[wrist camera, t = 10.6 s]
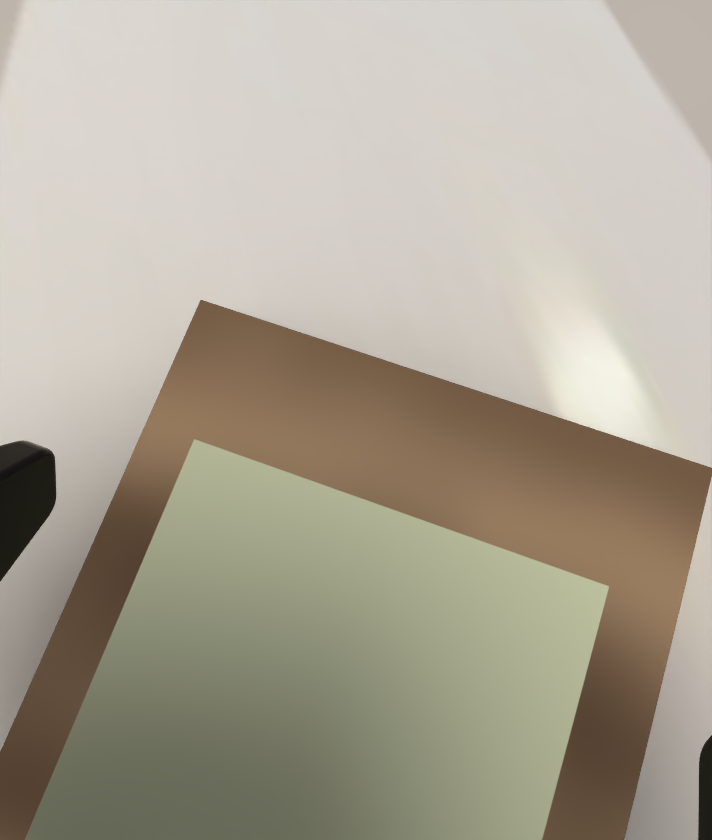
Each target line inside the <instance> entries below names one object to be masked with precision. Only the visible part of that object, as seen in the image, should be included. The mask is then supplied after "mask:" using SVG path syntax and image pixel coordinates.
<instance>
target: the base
mask: <svg viewBox="0 0 712 840" xmlns="http://www.w3.org/2000/svg"><path fill="white" fill-rule="evenodd" d="M194 439H195V440H198V441H201V442H204V443H207V444H209V445H212V446H215V447H218V448H221V449H224V450H226V451H229V452H232V453H235V454H238V455H240V456H243V457H246V458H249V459H252V460H255V461H257V462H260V463H263V464H266V465H269V466H271V467H274V468H277V469H280V470H283V471H286V472H288V473H291V474H294V475H297V476H300V477H302V478H305V479H308V480H311V481H314V482H316V483H319V484H322V485H325V486H328V487H331V488H333V489H336V490H339V491H342V492H345V493H347V494H350V495H353V496H356V497H359V498H362V499H364V500H367V501H370V502H373V503H376V504H378V505H381V506H384V507H387V508H390V509H393V510H395V511H398V512H401V513H404V514H407V515H409V516H412V517H415V518H418V519H421V520H424V521H426V522H429V523H432V524H435V525H438V526H440V527H443V528H446V529H449V530H452V531H455V532H457V533H460V534H463V535H466V536H469V537H471V538H474V539H477V540H480V541H483V542H485V543H488V544H491V545H494V546H497V547H500V548H502V549H505V550H508V551H511V552H514V553H516V554H519V555H522V556H525V557H528V558H531V559H533V560H536V561H539V562H542V563H545V564H547V565H550V566H553V567H556V568H559V569H562V570H564V571H567V572H570V573H573V574H576V575H578V576H581V577H584V578H587V579H590V580H593V581H595V582H598V583H601V584H604V585H607V586H609V589H608V593H607V597H606V600H605V604H604V608H603V612H602V616H601V619H600V623H599V627H598V631H597V634H596V638H595V642H594V646H593V649H592V653H591V657H590V661H589V665H588V668H587V672H586V676H585V680H584V683H583V687H582V691H581V695H580V699H579V702H578V706H577V710H576V714H575V717H574V721H573V725H572V729H571V732H570V736H569V740H568V744H567V748H566V751H565V755H564V759H563V763H562V766H561V770H560V774H559V778H558V781H557V785H556V789H555V793H554V797H553V800H552V804H551V808H550V812H549V815H548V819H547V823H546V827H545V830H544V834H543V838H542V840H624V838H625V834H626V830H627V825H628V821H629V817H630V813H631V809H632V805H633V801H634V796H635V792H636V788H637V784H638V780H639V776H640V771H641V767H642V763H643V759H644V755H645V751H646V747H647V742H648V738H649V734H650V730H651V726H652V722H653V717H654V713H655V709H656V705H657V701H658V697H659V693H660V688H661V684H662V680H663V676H664V672H665V668H666V664H667V659H668V655H669V651H670V647H671V643H672V639H673V634H674V630H675V626H676V622H677V618H678V614H679V610H680V605H681V601H682V597H683V593H684V589H685V585H686V580H687V576H688V572H689V568H690V564H691V560H692V556H693V551H694V547H695V543H696V539H697V535H698V531H699V526H700V522H701V518H702V514H703V510H704V506H705V502H706V497H707V493H708V489H709V485H710V481H711V477H712V468H710V467H707V466H704V465H701V464H698V463H695V462H692V461H689V460H686V459H683V458H680V457H677V456H674V455H671V454H668V453H665V452H662V451H659V450H656V449H653V448H650V447H647V446H643V445H640V444H637V443H634V442H631V441H628V440H625V439H622V438H619V437H616V436H613V435H610V434H607V433H604V432H601V431H598V430H595V429H592V428H589V427H586V426H583V425H580V424H577V423H574V422H571V421H568V420H565V419H561V418H558V417H555V416H552V415H549V414H546V413H543V412H540V411H537V410H534V409H531V408H528V407H525V406H522V405H519V404H516V403H513V402H510V401H507V400H504V399H501V398H498V397H495V396H492V395H489V394H486V393H482V392H479V391H476V390H473V389H470V388H467V387H464V386H461V385H458V384H455V383H452V382H449V381H446V380H443V379H440V378H437V377H434V376H431V375H428V374H425V373H422V372H419V371H416V370H413V369H410V368H407V367H403V366H400V365H397V364H394V363H391V362H388V361H385V360H382V359H379V358H376V357H373V356H370V355H367V354H364V353H361V352H358V351H355V350H352V349H349V348H346V347H343V346H340V345H337V344H334V343H331V342H328V341H325V340H321V339H318V338H315V337H312V336H309V335H306V334H303V333H300V332H297V331H294V330H291V329H288V328H285V327H282V326H279V325H276V324H273V323H270V322H267V321H264V320H261V319H258V318H255V317H252V316H249V315H246V314H242V313H239V312H236V311H233V310H230V309H227V308H224V307H221V306H218V305H215V304H212V303H209V302H206V301H203V300H200V303H199V305H198V307H197V309H196V312H195V314H194V316H193V318H192V321H191V323H190V325H189V327H188V330H187V332H186V334H185V336H184V339H183V341H182V343H181V346H180V348H179V350H178V352H177V355H176V357H175V359H174V361H173V364H172V366H171V368H170V370H169V373H168V375H167V377H166V379H165V382H164V384H163V386H162V388H161V391H160V393H159V395H158V397H157V400H156V402H155V404H154V406H153V409H152V411H151V413H150V415H149V418H148V420H147V422H146V425H145V427H144V429H143V431H142V434H141V436H140V438H139V440H138V443H137V445H136V447H135V449H134V452H133V454H132V456H131V458H130V461H129V463H128V465H127V467H126V470H125V472H124V474H123V476H122V479H121V481H120V483H119V485H118V488H117V490H116V492H115V494H114V497H113V499H112V501H111V504H110V506H109V508H108V510H107V513H106V515H105V517H104V519H103V522H102V524H101V526H100V528H99V531H98V533H97V535H96V537H95V540H94V542H93V544H92V546H91V549H90V551H89V553H88V555H87V558H86V560H85V562H84V564H83V567H82V569H81V571H80V573H79V576H78V578H77V580H76V583H75V585H74V587H73V589H72V592H71V594H70V596H69V598H68V601H67V603H66V605H65V607H64V610H63V612H62V614H61V616H60V619H59V621H58V623H57V625H56V628H55V630H54V632H53V634H52V637H51V639H50V641H49V643H48V646H47V648H46V650H45V653H44V655H43V657H42V659H41V662H40V664H39V666H38V668H37V671H36V673H35V675H34V677H33V680H32V682H31V684H30V686H29V689H28V691H27V693H26V695H25V698H24V700H23V702H22V704H21V707H20V709H19V711H18V713H17V716H16V718H15V720H14V722H13V725H12V727H11V729H10V732H9V734H8V736H7V738H6V741H5V743H4V745H3V747H2V750H1V752H0V840H25V838H26V835H27V833H28V831H29V828H30V826H31V824H32V821H33V819H34V816H35V814H36V812H37V809H38V807H39V805H40V802H41V800H42V798H43V795H44V793H45V791H46V788H47V786H48V783H49V781H50V779H51V776H52V774H53V772H54V769H55V767H56V765H57V762H58V760H59V757H60V755H61V753H62V750H63V748H64V746H65V743H66V741H67V739H68V736H69V734H70V731H71V729H72V727H73V724H74V722H75V720H76V717H77V715H78V713H79V710H80V708H81V705H82V703H83V701H84V698H85V696H86V694H87V691H88V689H89V687H90V684H91V682H92V679H93V677H94V675H95V672H96V670H97V668H98V665H99V663H100V661H101V658H102V656H103V653H104V651H105V649H106V646H107V644H108V642H109V639H110V637H111V635H112V632H113V630H114V627H115V625H116V623H117V620H118V618H119V616H120V613H121V611H122V609H123V606H124V604H125V601H126V599H127V597H128V594H129V592H130V590H131V587H132V585H133V583H134V580H135V578H136V575H137V573H138V571H139V568H140V566H141V564H142V561H143V559H144V557H145V554H146V552H147V549H148V547H149V545H150V542H151V540H152V538H153V535H154V533H155V531H156V528H157V526H158V523H159V521H160V519H161V516H162V514H163V512H164V509H165V507H166V505H167V502H168V500H169V497H170V495H171V493H172V490H173V488H174V486H175V483H176V481H177V479H178V476H179V474H180V471H181V469H182V467H183V464H184V462H185V460H186V457H187V455H188V453H189V450H190V448H191V445H192V443H193V441H194Z"/></svg>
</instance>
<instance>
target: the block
mask: <svg viewBox="0 0 712 840" xmlns="http://www.w3.org/2000/svg"><path fill="white" fill-rule="evenodd" d="M608 589H609V586H607V585H604V584H601V583H598V582H595V581H593V580H590V579H587V578H584V577H581V576H578V575H576V574H573V573H570V572H567V571H564V570H562V569H559V568H556V567H553V566H550V565H547V564H545V563H542V562H539V561H536V560H533V559H531V558H528V557H525V556H522V555H519V554H516V553H514V552H511V551H508V550H505V549H502V548H500V547H497V546H494V545H491V544H488V543H485V542H483V541H480V540H477V539H474V538H471V537H469V536H466V535H463V534H460V533H457V532H455V531H452V530H449V529H446V528H443V527H440V526H438V525H435V524H432V523H429V522H426V521H424V520H421V519H418V518H415V517H412V516H409V515H407V514H404V513H401V512H398V511H395V510H393V509H390V508H387V507H384V506H381V505H378V504H376V503H373V502H370V501H367V500H364V499H362V498H359V497H356V496H353V495H350V494H347V493H345V492H342V491H339V490H336V489H333V488H331V487H328V486H325V485H322V484H319V483H316V482H314V481H311V480H308V479H305V478H302V477H300V476H297V475H294V474H291V473H288V472H286V471H283V470H280V469H277V468H274V467H271V466H269V465H266V464H263V463H260V462H257V461H255V460H252V459H249V458H246V457H243V456H240V455H238V454H235V453H232V452H229V451H226V450H224V449H221V448H218V447H215V446H212V445H209V444H207V443H204V442H201V441H198V440H195V439H194V441H193V443H192V445H191V448H190V450H189V453H188V455H187V457H186V460H185V462H184V464H183V467H182V469H181V471H180V474H179V476H178V479H177V481H176V483H175V486H174V488H173V490H172V493H171V495H170V497H169V500H168V502H167V505H166V507H165V509H164V512H163V514H162V516H161V519H160V521H159V523H158V526H157V528H156V531H155V533H154V535H153V538H152V540H151V542H150V545H149V547H148V549H147V552H146V554H145V557H144V559H143V561H142V564H141V566H140V568H139V571H138V573H137V575H136V578H135V580H134V583H133V585H132V587H131V590H130V592H129V594H128V597H127V599H126V601H125V604H124V606H123V609H122V611H121V613H120V616H119V618H118V620H117V623H116V625H115V627H114V630H113V632H112V635H111V637H110V639H109V642H108V644H107V646H106V649H105V651H104V653H103V656H102V658H101V661H100V663H99V665H98V668H97V670H96V672H95V675H94V677H93V679H92V682H91V684H90V687H89V689H88V691H87V694H86V696H85V698H84V701H83V703H82V705H81V708H80V710H79V713H78V715H77V717H76V720H75V722H74V724H73V727H72V729H71V731H70V734H69V736H68V739H67V741H66V743H65V746H64V748H63V750H62V753H61V755H60V757H59V760H58V762H57V765H56V767H55V769H54V772H53V774H52V776H51V779H50V781H49V783H48V786H47V788H46V791H45V793H44V795H43V798H42V800H41V802H40V805H39V807H38V809H37V812H36V814H35V816H34V819H33V821H32V824H31V826H30V828H29V831H28V833H27V835H26V838H25V840H542V838H543V834H544V830H545V827H546V823H547V819H548V815H549V812H550V808H551V804H552V800H553V797H554V793H555V789H556V785H557V781H558V778H559V774H560V770H561V766H562V763H563V759H564V755H565V751H566V748H567V744H568V740H569V736H570V732H571V729H572V725H573V721H574V717H575V714H576V710H577V706H578V702H579V699H580V695H581V691H582V687H583V683H584V680H585V676H586V672H587V668H588V665H589V661H590V657H591V653H592V649H593V646H594V642H595V638H596V634H597V631H598V627H599V623H600V619H601V616H602V612H603V608H604V604H605V600H606V597H607V593H608Z"/></svg>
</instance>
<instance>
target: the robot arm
mask: <svg viewBox="0 0 712 840" xmlns="http://www.w3.org/2000/svg"><path fill="white" fill-rule="evenodd" d="M55 501H56V473H55V456H54V454H53V453H52V451H50V450H49V449H47V448H45V447H42V446H39V445H37V444H34V443H31V442H28V441H17V442H13V443H9V444H5V445H2V446H0V581H1V580H2V578H3V577H4V576H5V574H6V573H7V572H8V570H9V569H10V568H11V566H12V565H13V564H14V562H15V561H16V560H17V558H18V557H19V555H20V554H21V553H22V551H23V550H24V549H25V547H26V546H27V545H28V543H29V542H30V541H31V539H32V538H33V537H34V535H35V534H36V532H37V531H38V530H39V528H40V527H41V526H42V524H43V523H44V522H45V520H46V519H47V518H48V516H49V515H50V513H51V511H52V509H53V507H54V505H55ZM698 840H712V736H711V737H710V738H709V739H708V740H707V741H706V743H705V744H704V746H703V748H702V751H701V755H700V761H699V833H698Z"/></svg>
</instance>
